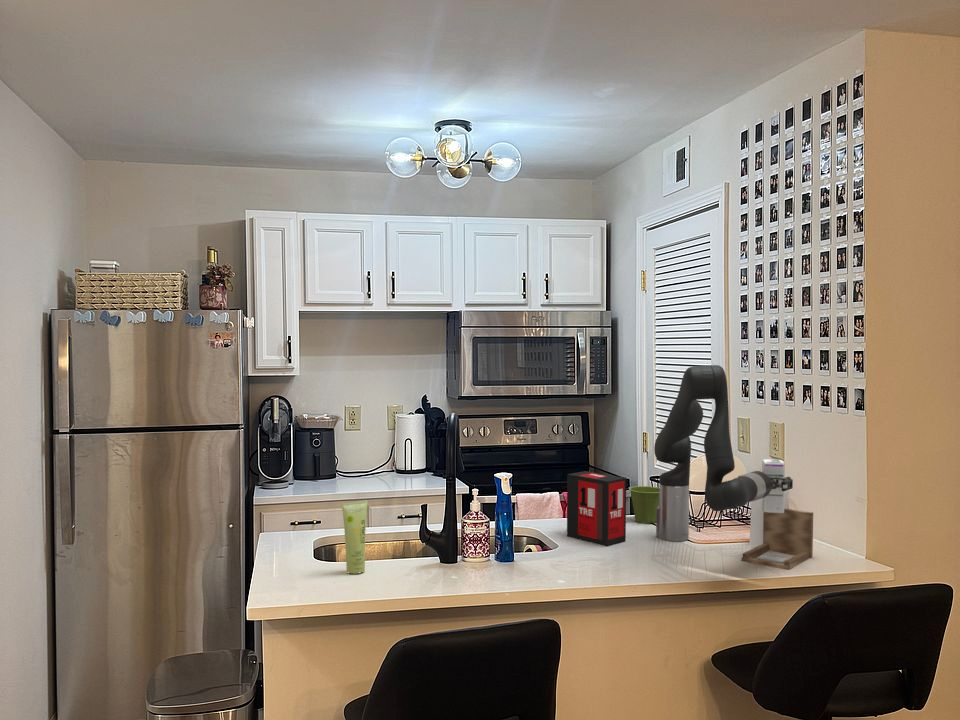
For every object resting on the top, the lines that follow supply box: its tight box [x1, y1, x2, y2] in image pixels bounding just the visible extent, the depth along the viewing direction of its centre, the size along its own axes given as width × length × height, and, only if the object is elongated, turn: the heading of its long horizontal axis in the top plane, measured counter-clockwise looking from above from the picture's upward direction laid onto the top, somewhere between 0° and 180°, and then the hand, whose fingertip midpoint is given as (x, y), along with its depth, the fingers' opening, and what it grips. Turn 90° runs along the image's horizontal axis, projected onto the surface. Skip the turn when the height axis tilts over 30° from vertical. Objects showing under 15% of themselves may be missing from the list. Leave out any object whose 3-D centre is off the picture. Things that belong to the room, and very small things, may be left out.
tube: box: [341, 499, 369, 574], centre depth 234 cm, size 6×5×20 cm
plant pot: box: [628, 485, 659, 525], centre depth 293 cm, size 12×12×11 cm
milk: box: [748, 489, 790, 548], centre depth 260 cm, size 12×12×26 cm
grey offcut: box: [756, 554, 789, 564], centre depth 241 cm, size 7×4×1 cm, turn 48°
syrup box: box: [761, 458, 786, 513], centre depth 245 cm, size 6×6×14 cm
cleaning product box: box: [566, 470, 627, 547], centre depth 270 cm, size 16×9×20 cm, turn 42°
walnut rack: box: [740, 508, 814, 571], centre depth 243 cm, size 14×17×14 cm
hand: (775, 478), depth 247 cm, fingers closed on syrup box, 7 cm apart
